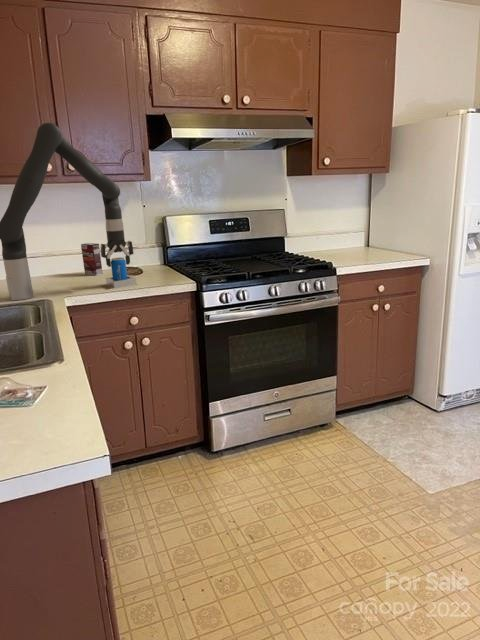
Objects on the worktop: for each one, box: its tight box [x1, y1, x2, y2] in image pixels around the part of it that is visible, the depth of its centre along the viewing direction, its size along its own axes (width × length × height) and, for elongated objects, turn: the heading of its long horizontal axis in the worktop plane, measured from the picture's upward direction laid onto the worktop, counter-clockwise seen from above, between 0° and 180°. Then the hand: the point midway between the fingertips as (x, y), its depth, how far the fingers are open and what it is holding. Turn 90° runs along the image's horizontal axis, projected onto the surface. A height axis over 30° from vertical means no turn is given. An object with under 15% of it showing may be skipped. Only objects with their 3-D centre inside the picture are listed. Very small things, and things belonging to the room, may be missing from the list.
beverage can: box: [110, 257, 128, 281], centre depth 218 cm, size 6×6×12 cm
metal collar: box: [105, 274, 138, 289], centre depth 219 cm, size 10×10×3 cm
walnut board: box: [99, 284, 114, 291], centre depth 219 cm, size 15×10×1 cm, turn 124°
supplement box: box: [80, 242, 103, 276], centre depth 248 cm, size 9×5×16 cm, turn 60°
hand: (118, 265), depth 217 cm, fingers open, 8 cm apart
